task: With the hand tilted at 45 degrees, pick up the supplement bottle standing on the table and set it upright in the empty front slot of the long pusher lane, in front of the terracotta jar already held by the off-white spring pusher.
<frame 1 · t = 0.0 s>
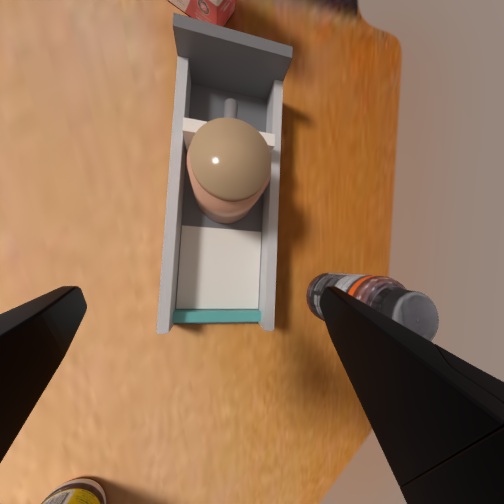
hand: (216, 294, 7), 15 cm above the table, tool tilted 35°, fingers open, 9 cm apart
supplement bottle: (325, 295, 25), on the table
terracotta jar: (225, 195, 22), point 1 cm above the table, touching pusher lane
supplement bottle 2: (77, 502, 18), on the table
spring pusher: (229, 128, 20), point 3 cm above the table, slide at 0.0 cm
pusher lane: (220, 267, 22), on the table
ink cartridge box: (196, 3, 24), on the table
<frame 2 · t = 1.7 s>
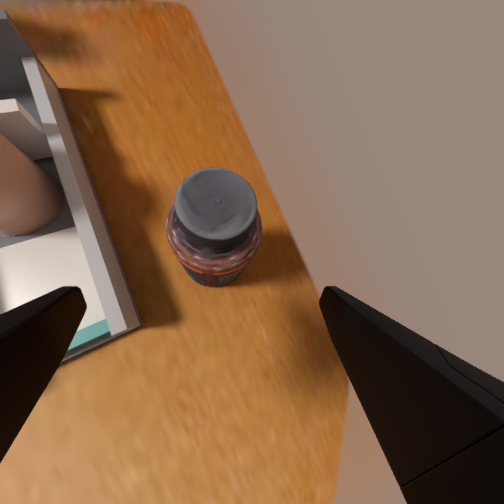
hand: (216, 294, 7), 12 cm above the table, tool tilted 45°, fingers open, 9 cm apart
supplement bottle: (214, 259, 20), on the table
terracotta jar: (19, 201, 17), point 1 cm above the table, touching pusher lane
pusher lane: (51, 288, 16), on the table
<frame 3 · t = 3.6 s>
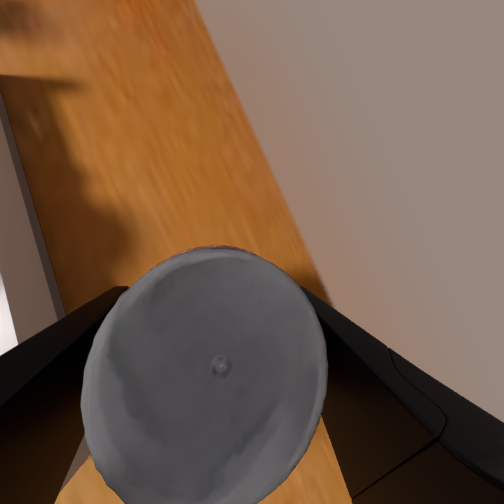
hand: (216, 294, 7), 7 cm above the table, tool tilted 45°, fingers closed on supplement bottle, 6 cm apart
supplement bottle: (213, 320, 14), on the table, touching gripper
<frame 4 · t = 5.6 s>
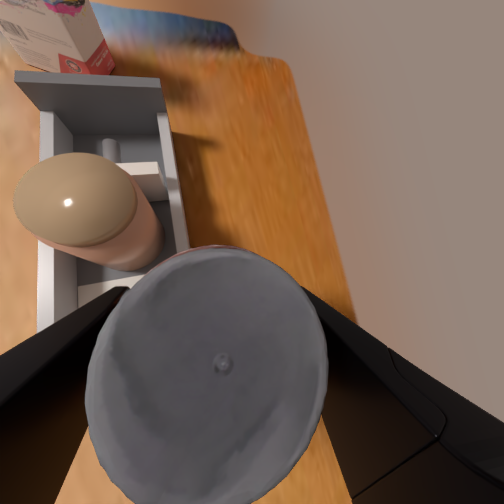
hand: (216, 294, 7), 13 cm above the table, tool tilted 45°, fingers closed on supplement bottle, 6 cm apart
supplement bottle: (214, 320, 14), point 6 cm above the table, touching gripper
terracotta jar: (129, 238, 19), point 1 cm above the table, touching pusher lane
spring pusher: (113, 167, 18), point 3 cm above the table, slide at 0.0 cm
pusher lane: (140, 323, 18), on the table
ink cartridge box: (74, 66, 24), on the table
when the fingers open (9 cm above the table, at t = 7.7 s): supplement bottle stays where it is, resting on pusher lane.
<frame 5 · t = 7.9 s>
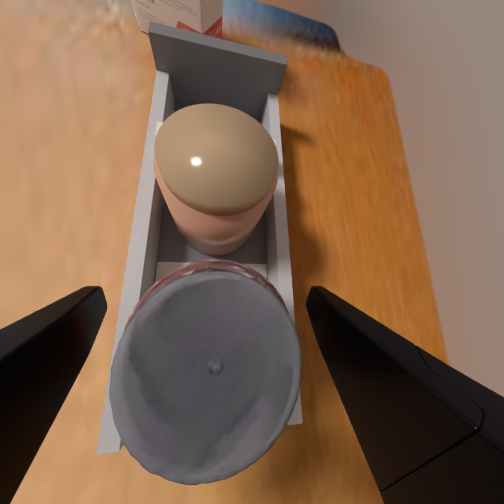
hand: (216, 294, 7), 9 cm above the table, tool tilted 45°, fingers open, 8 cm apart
supplement bottle: (213, 321, 15), point 1 cm above the table, touching pusher lane
terracotta jar: (216, 220, 17), point 1 cm above the table, touching pusher lane
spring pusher: (219, 140, 16), point 3 cm above the table, slide at 0.0 cm
pusher lane: (213, 318, 16), on the table
ink cartridge box: (182, 40, 23), on the table
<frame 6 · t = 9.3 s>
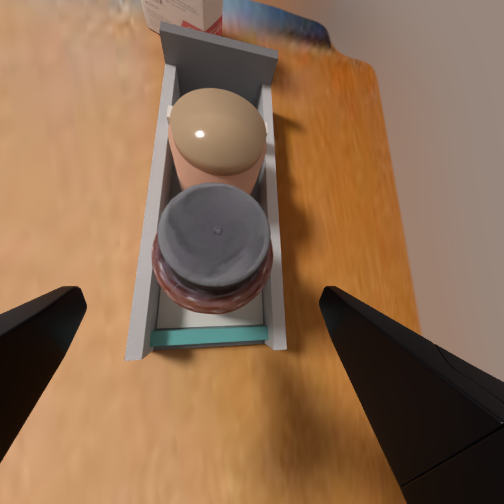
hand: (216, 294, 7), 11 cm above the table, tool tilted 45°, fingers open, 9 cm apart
supplement bottle: (214, 276, 18), point 1 cm above the table, touching pusher lane
terracotta jar: (216, 193, 20), point 1 cm above the table, touching pusher lane
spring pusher: (219, 124, 19), point 3 cm above the table, slide at 0.0 cm
pusher lane: (214, 275, 18), on the table
ink cartridge box: (185, 37, 26), on the table
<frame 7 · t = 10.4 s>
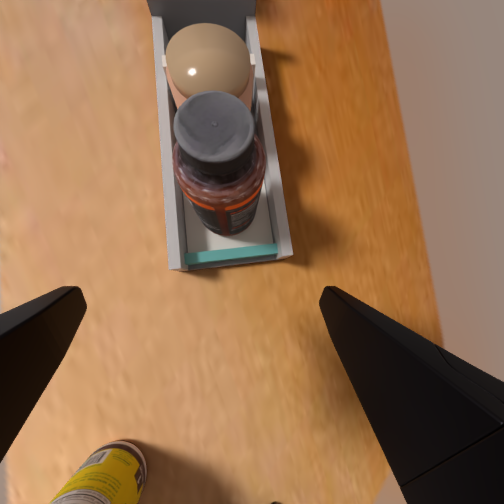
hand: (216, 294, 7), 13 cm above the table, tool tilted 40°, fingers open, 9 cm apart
supplement bottle: (227, 210, 21), point 1 cm above the table, touching pusher lane
terracotta jar: (218, 138, 22), point 1 cm above the table, touching pusher lane
supplement bottle 2: (118, 469, 17), on the table
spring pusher: (210, 67, 20), point 3 cm above the table, slide at 0.0 cm
pusher lane: (227, 211, 21), on the table
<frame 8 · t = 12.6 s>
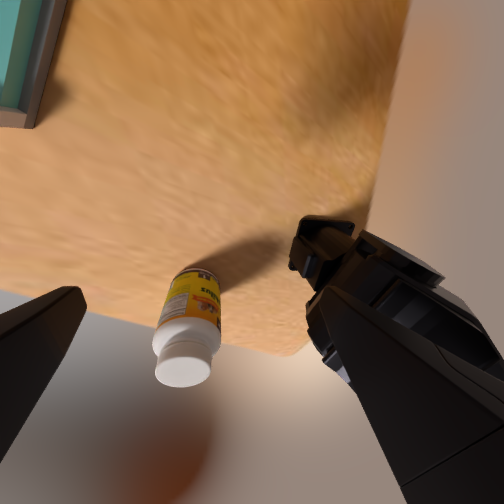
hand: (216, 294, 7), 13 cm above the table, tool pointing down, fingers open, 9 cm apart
supplement bottle 2: (196, 283, 23), on the table
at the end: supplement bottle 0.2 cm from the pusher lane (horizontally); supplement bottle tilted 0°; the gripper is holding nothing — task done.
